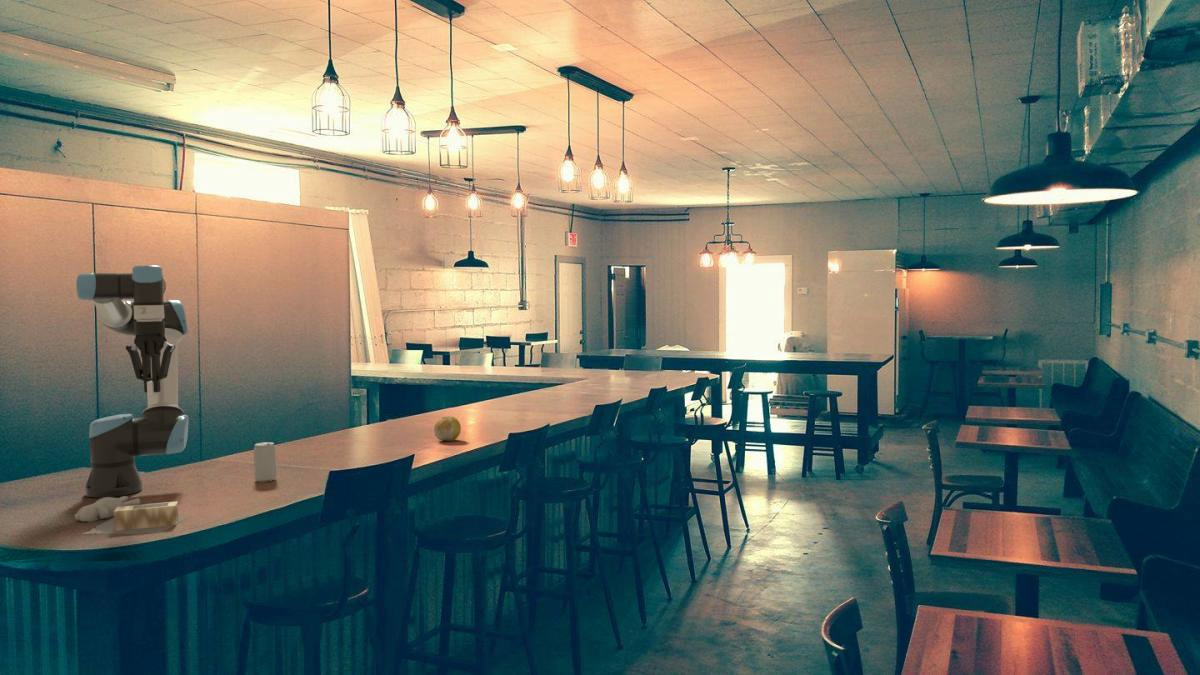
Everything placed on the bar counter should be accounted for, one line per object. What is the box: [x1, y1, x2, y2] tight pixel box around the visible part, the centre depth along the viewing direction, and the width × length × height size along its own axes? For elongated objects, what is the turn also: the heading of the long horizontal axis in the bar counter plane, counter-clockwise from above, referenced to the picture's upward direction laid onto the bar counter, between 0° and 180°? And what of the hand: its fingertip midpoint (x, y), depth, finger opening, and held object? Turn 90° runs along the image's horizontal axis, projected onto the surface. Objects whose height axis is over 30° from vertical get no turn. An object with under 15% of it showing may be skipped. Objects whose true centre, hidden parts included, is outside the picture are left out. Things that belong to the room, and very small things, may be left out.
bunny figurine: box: [74, 495, 142, 523], centre depth 229 cm, size 10×5×15 cm
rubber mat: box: [93, 516, 189, 535], centre depth 218 cm, size 20×15×1 cm
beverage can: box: [253, 441, 277, 483], centre depth 271 cm, size 6×6×12 cm
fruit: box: [433, 415, 462, 442], centre depth 339 cm, size 10×11×10 cm
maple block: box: [113, 500, 179, 531], centre depth 218 cm, size 5×5×14 cm
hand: (152, 403), depth 238 cm, fingers closed
